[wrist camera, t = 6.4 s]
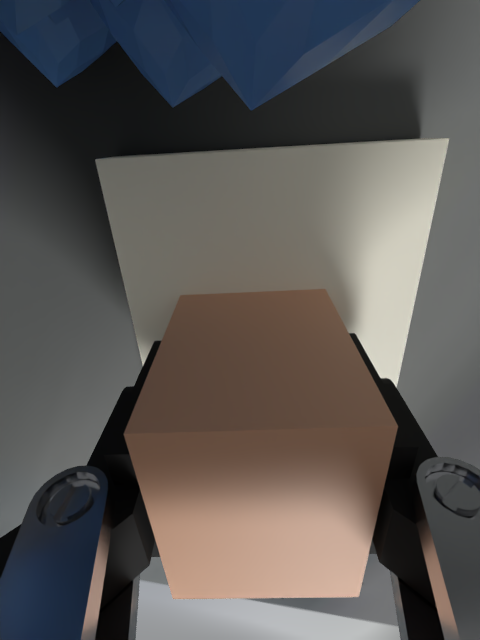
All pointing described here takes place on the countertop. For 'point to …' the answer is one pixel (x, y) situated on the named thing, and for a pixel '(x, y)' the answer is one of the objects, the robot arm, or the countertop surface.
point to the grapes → (197, 39)
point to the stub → (268, 352)
